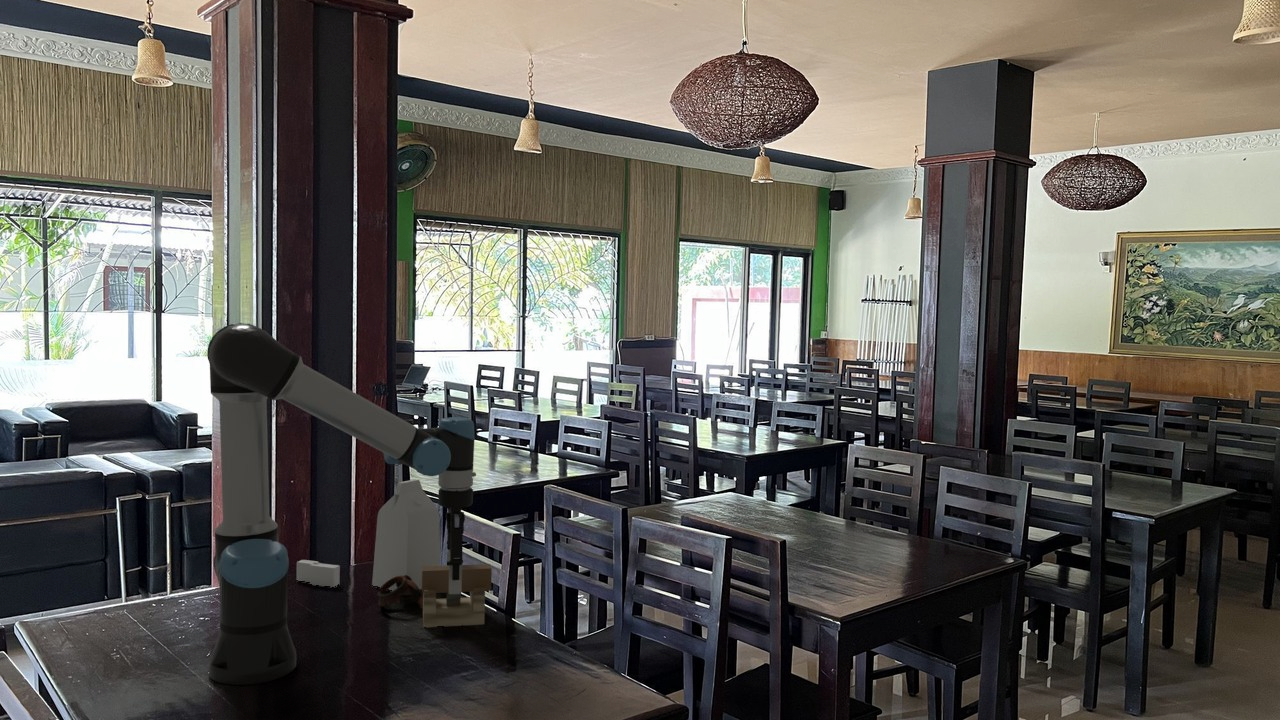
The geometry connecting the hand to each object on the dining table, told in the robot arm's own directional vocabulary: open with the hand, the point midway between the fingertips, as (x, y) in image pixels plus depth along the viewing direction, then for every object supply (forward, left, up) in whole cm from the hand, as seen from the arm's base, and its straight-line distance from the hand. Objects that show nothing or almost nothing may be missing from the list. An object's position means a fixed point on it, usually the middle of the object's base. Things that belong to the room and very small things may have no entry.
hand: (453, 586), depth 202 cm
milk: (+27, +10, -8) cm, 30 cm away
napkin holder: (+32, +31, -8) cm, 46 cm away
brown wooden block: (0, -1, -1) cm, 1 cm away
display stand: (0, 0, -7) cm, 7 cm away
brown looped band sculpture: (+10, +11, -8) cm, 17 cm away
